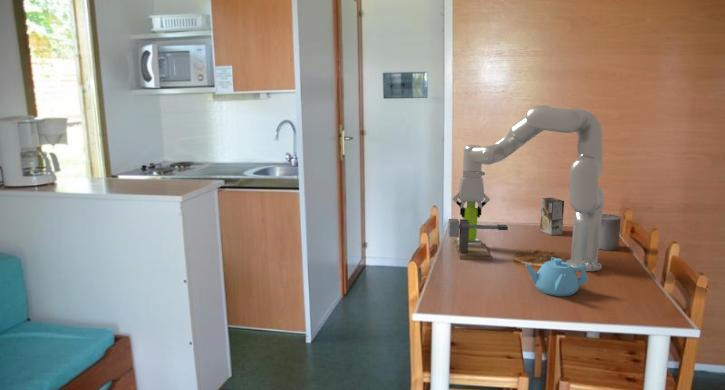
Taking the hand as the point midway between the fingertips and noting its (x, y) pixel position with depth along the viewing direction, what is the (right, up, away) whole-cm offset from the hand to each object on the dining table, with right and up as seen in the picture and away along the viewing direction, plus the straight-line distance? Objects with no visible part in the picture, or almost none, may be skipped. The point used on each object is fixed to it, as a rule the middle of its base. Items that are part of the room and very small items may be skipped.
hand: (470, 216), depth 228 cm
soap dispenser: (0, -10, +2) cm, 10 cm away
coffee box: (+43, -9, +27) cm, 52 cm away
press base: (-1, -14, -3) cm, 15 cm away
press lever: (0, -7, -12) cm, 14 cm away
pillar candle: (+58, -14, +2) cm, 60 cm away
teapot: (+19, -23, -48) cm, 56 cm away
